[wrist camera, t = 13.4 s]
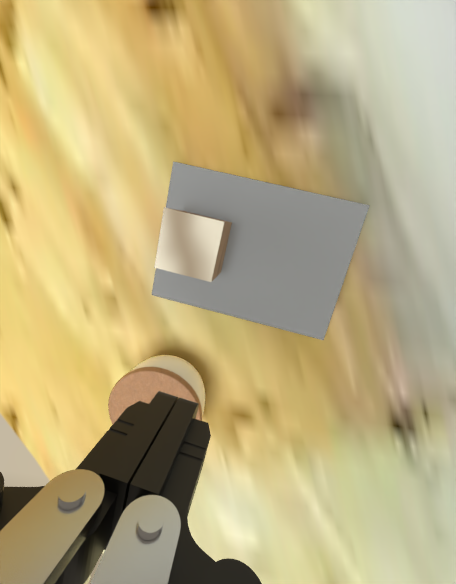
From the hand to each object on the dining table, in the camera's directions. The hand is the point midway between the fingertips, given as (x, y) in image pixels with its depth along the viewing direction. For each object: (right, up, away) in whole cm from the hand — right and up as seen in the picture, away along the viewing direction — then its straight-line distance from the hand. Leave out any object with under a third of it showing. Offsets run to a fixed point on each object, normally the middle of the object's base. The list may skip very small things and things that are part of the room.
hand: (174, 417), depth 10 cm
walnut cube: (-2, +9, +18) cm, 20 cm away
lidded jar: (-5, -7, +29) cm, 30 cm away
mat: (+5, +9, +23) cm, 25 cm away
